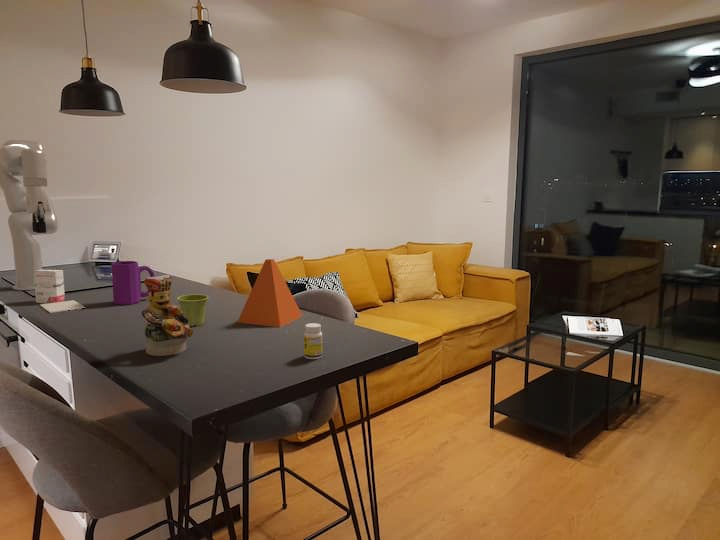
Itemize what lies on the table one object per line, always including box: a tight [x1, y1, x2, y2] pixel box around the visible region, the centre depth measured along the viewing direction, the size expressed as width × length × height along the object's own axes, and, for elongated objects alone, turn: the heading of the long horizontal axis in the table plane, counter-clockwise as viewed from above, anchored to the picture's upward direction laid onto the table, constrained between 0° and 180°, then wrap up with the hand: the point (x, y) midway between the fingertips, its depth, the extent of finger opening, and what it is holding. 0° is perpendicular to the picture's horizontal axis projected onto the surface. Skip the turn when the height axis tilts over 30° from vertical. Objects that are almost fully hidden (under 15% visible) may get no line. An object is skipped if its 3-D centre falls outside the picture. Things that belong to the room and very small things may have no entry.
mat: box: [39, 299, 86, 314], centre depth 188 cm, size 15×11×1 cm
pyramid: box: [236, 258, 303, 328], centre depth 172 cm, size 16×16×20 cm
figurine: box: [140, 274, 194, 357], centre depth 138 cm, size 12×15×20 cm
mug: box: [110, 260, 156, 306], centre depth 197 cm, size 9×16×15 cm, turn 133°
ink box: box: [34, 269, 66, 304], centre depth 195 cm, size 9×5×12 cm, turn 84°
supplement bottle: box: [303, 322, 323, 360], centre depth 135 cm, size 5×5×8 cm
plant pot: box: [176, 293, 209, 327], centre depth 166 cm, size 9×9×9 cm
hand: (39, 231), depth 198 cm, fingers open, 4 cm apart
